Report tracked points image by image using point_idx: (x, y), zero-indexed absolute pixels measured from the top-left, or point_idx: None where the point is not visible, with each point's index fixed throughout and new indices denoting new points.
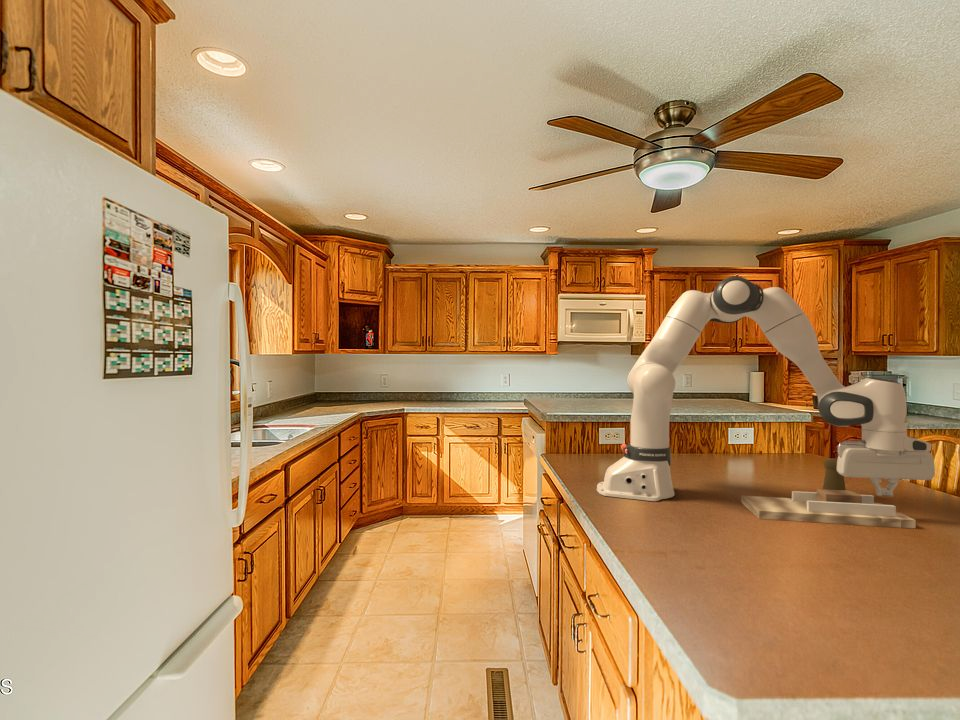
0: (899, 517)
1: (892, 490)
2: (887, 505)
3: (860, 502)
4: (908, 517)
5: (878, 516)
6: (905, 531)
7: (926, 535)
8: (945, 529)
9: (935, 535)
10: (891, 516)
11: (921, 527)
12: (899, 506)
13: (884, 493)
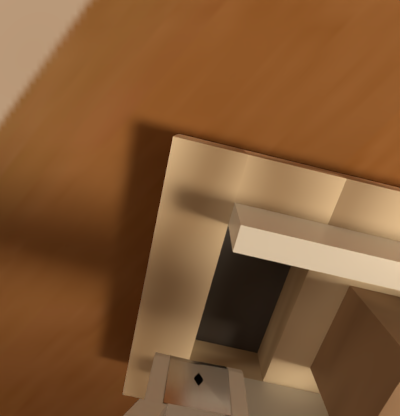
0: (225, 188)
1: (151, 392)
2: (279, 249)
3: (390, 323)
4: (171, 186)
5: (333, 210)
6: (270, 93)
7: (213, 23)
8: (32, 120)
9: (162, 22)
10: (255, 207)
11: (130, 153)
12: (10, 400)
13: (212, 378)
